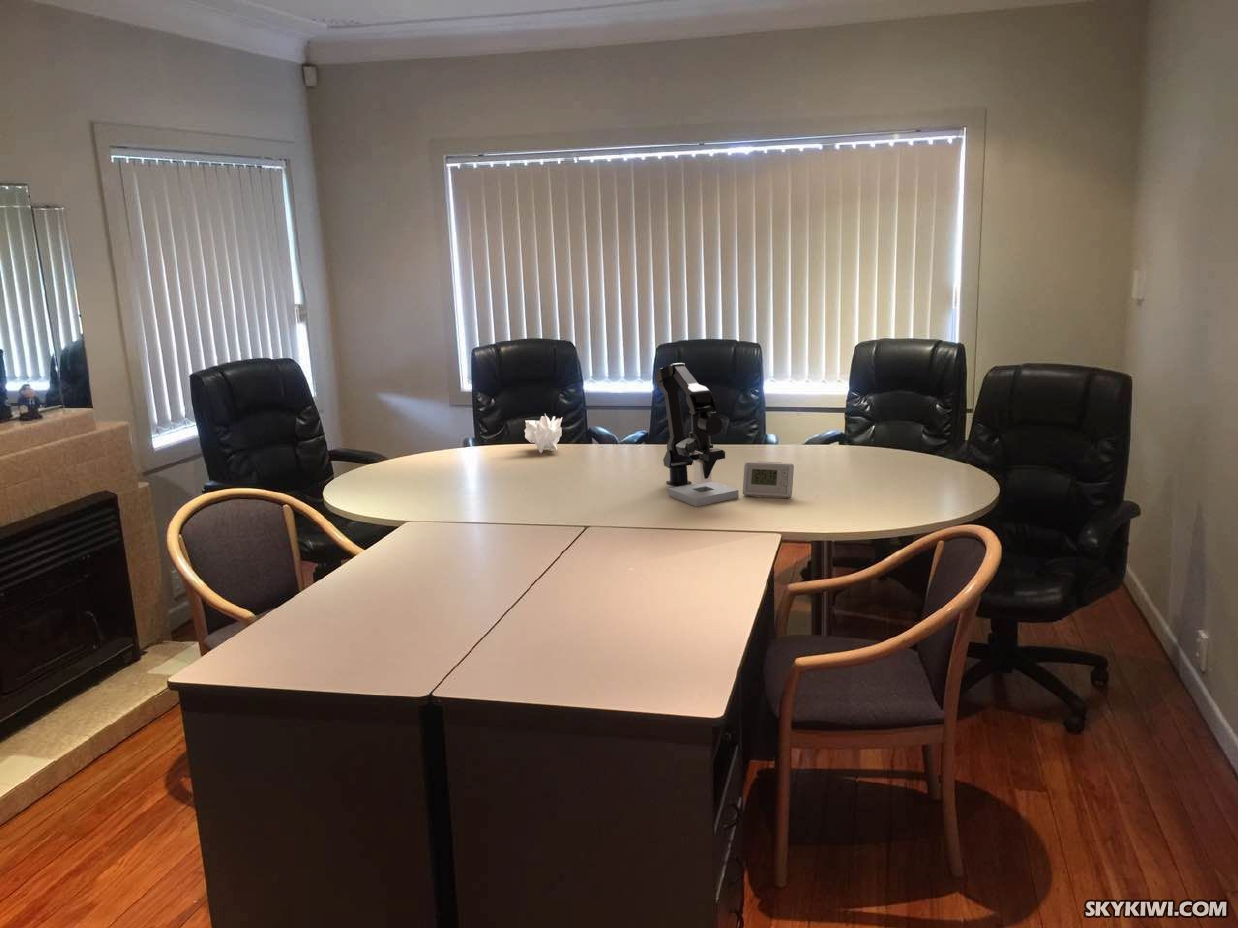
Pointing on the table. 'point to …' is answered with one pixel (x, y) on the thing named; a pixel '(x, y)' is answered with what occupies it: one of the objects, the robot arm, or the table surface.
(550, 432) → the crumpled paper
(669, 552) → the table surface
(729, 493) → the socket plate
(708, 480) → the plug
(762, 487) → the digital clock
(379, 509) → the table surface
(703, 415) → the robot arm
